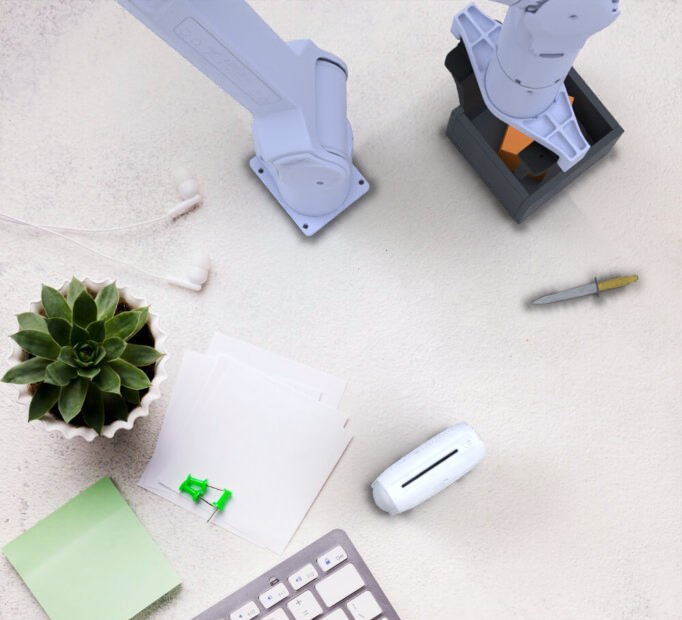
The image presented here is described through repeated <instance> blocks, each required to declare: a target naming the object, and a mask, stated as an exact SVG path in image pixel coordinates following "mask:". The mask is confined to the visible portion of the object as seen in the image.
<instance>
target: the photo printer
mask: <svg viewBox="0 0 682 620" xmlns="http://www.w3.org/2000/svg"><path fill="white" fill-rule="evenodd" d="M485 457H487V448H486V446H485V443H484V441H483V439H482V437H481V436H480V434H479V433H478V432H477V430H476V429H474V427H472V425H470V424H469V423H468V422H466V421H461V422H458V423H455V424H453V425H451V426H449V427H447V428H446V429H444V430H443V431H441V432H439V433H437V434H436V435H434V436H433V437H431V438H429V439H427V440H426V441H425V442H423V443H422V444H420V445H419V446H417V447H416V448H414V449H413V450H411V451H410V452H409V453H407V454H406V455H404V456H402V457H401V458H399V459H398V460H396V462H394V463H393V464H391V465H390V466H389V467H387V468H385V470H384V471H383V472H382V473H380V474H379V475H378V477H377V478H376V479H375V480H374V481H373V482H372V483H371V484H370V487H371V489H372V498H373V501H374V503H375V505H376V507H378V508H379V509H380V510H382V511H383V512H387V513H388V514H389V516H394V515H397V514H401V513H404V512H407V511H409V510H411V509H413V508H415V507H417V506H419V505H420V504H422V503H424V502H425V501H427V500H428V499H430V498H432V497H433V496H435V495H437V494H438V493H439V492H441V491H443V490H444V489H446V488H447V487H448V486H450V485H453V484H454V483H455V482H456V481H458V480H459V479H460V478H462V477H463V476H465V475H466V474H468V473H469V472H470V471H472V470H473V469H474V468H475V467H476V466H477V465H478V464H480V462H482V461H483V459H484V458H485Z"/></svg>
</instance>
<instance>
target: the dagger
mask: <svg viewBox="0 0 682 620" xmlns="http://www.w3.org/2000/svg"><path fill="white" fill-rule="evenodd" d="M638 280H639V276H638V275H637V274H636V273H635V274H633V275H630V276H629V275H625V276H619V277H614V278H611V279H608V280H604V281H600V282H598V278H597V277H596V276H594V282H593V283H589V284H586V285H583V286H579V287H575V288H570V289H567V290H564V291H560V292H556V293H552V294H549V295H545V296H543V297H540V298H538V299H537V300H534V301H532V302H531V305H533V304H534V305H543V304H551V303H554V302H555V303H556V302H560V301H564V300H569V299H573V298H579V297H583V296H587V295H592V294H596V296H597V299H598V298H600V296H601V295H600V292H601V291H607V290H612V289H616V288H620V287H624V286H628V285H630V284H631V283H637V282H638Z"/></svg>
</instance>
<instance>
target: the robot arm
mask: <svg viewBox="0 0 682 620" xmlns="http://www.w3.org/2000/svg"><path fill="white" fill-rule="evenodd" d="M113 1H114V2H116V4H118V5H119V6H121V8H123V9H124V10H125V11H126V12H128V13H129V14H130V15H131V16H132V17H134V18H135V19H136V20H137V21H139V22H140V23H141V24H142V25H143V26H145V27H146V28H147V30H150V31H151V32H152V33H153V34H155V36H156V37H158V38H159V39H160V40H162V41H163V42H164V43H165V44H166V45H168V46H169V47H170V48H171V49H173V50H174V51H175V52H176V53H177V54H179V55H180V56H181V57H182V58H184V59H185V60H186V61H187V62H188V63H189V64H190V65H192V67H194V68H196V69H197V70H198V71H199V72H200V73H201V74H202V75H204V76H205V77H207V79H209V80H210V81H211V82H213V83H214V84H215V85H216V86H217V87H218V88H220V89H221V90H222V91H224V92H225V93H226V94H227V95H228V96H230V97H231V98H232V99H233V100H234V101H236V102H237V104H239V105H240V106H242V108H244V109H245V110H247V112H249V113H250V114H251V116H252V118H253V119H252V122H251V125H250V126H251V127H250V130H251V136H252V141H253V145H254V151H255V156H253V157H252V158H251V159H250V160H249V166H250V168H251V169H252V171H253V172H254V173H255V174H256V175H257V177H258V178H259V180H260V181H261V182H262V183H263V185H264V186H265V187H266V189H267V190H269V192H270V193H271V195H272V196H273V197H274V198H275V199H276V201H277V202H278V203H279V204H280V205H281V207H282V208H283V210H284V211H285V212H286V213H287V215H289V217H290V218H291V219H292V221H294V224H296V226H298V228H299V229H300V230H301V232H302V233H303V235H305V236H306V237H311V236H313V235H314V234H316V233H317V232H319V231H320V230H321V229H322V228H323V227H325V226H327V224H328V223H330V221H332V220H333V219H335V218H336V217H337V216H339V215H340V214H341V213H342V212H343V211H345V210H346V209H347V208H349V207H350V206H351V205H352V204H353V203H355V202H356V201H357V200H359V199H360V198H361V197H363V195H365V194H366V193H368V192H369V190H370V183H369V182H368V180H367V179H366V178H365V177H364V176H363V174H362V173H361V172H360V171H359V170H358V167H356V165H354V163H353V151H354V131H353V127H352V125H351V123H350V120H349V118H348V104H347V103H348V101H347V81H348V78H349V69H348V66H347V64H346V62H345V61H344V60H343V59H342V58H340V57H339V56H338V55H335V54H334V53H332V52H330V51H328V50H325V49H322V48H320V47H319V46H317V44H315V42H314V41H313V40H312V39H311V38H303V39H302V38H301V39H300V38H299V39H293V40H289V41H285V40H284V39H282V38H281V36H280V35H279V34H278V33H277V32H276V31H275V30H274V29H273V28H272V27H271V26H270V25H269V23H267V22H266V21H265V19H263V17H261V16H260V14H258V12H257V11H256V10H255V9H254V8H253V7H252V6H251V5H250V4H249V3H248V2H247V1H246V0H113ZM489 1H491V2H494V3H498V4H502V5H505V6H508V7H507V11H506V13H505V15H504V18H503V22H501V21H500V20H498V19H493V18H492V17H491V16H489V15H488V14H487V13H485V12H484V11H483V10H481V8H479V6H478V5H477V4H476V3H475V1H472V2H470V3H469V4H467V5H466V6H465V7H464V8H463V9H462V10H460V11H459V12H458V13H456V14H455V15H454V16H453V17H452V21H451V26H450V31H449V32H450V33H451V34H452V36H453V37H454V38H455V39H456V40H458V41H459V42H457V44H456V46H454V47H453V48H452V49H451V50H449V52H448V53H447V54H446V55H445V58H444V63H443V64H444V67H445V69H447V71H448V72H449V73H450V75H451V76H452V78H453V81H454V83H455V88H456V91H457V96H458V102H459V105H460V107H461V108H462V109H463V111H464V112H466V111H468V110H469V109H470V108H471V107H473V106H474V105H475V104H476V103H478V102H479V101H480V100H482V99H484V102H485V104H486V105H487V107H488V109H489V110H490V111H491V112H492V113H493V114H494V115H495V116H496V117H497V118H499V119H500V120H502V121H504V122H505V123H507V124H509V125H510V126H512V127H514V128H515V129H517V130H518V131H520V132H522V133H523V134H525V135H527V136H528V137H530V138H532V139H533V140H534V141H533V142H531V143H530V144H529V145H528V146H526V147H525V148H524V149H523V150H521V151H520V152H519V153H518V154H517V156H518V157H519V158H520V162H519V165H518V167H517V169H516V170H515V175H516V176H517V178H518V179H519V180H521V179H522V178H524V177H525V176H526V175H528V174H533V175H534V176H538V175H541V174H542V173H544V172H546V171H547V170H548V169H549V168H551V167H552V166H553V165H554V164H556V163H557V164H558V165H559V167H560V168H561V169H562V170H563V172H566V171H567V170H568V169H570V168H571V167H572V166H573V165H575V164H576V163H577V162H578V161H580V160H581V159H582V158H583V157H584V156H585V154H586V153H587V151H588V150H589V148H590V145H589V144H588V143H587V141H586V140H585V135H586V132H585V128H584V127H583V125H582V124H581V123H580V122H579V120H578V119H577V118H576V117H575V114H574V112H573V109H572V106H571V103H570V100H569V97H568V94H567V91H566V88H565V85H564V80H565V78H566V76H567V74H568V72H569V70H570V68H571V67H572V66H573V65H574V63H575V61H576V59H577V57H578V54H579V53H580V51H581V50H582V49H583V48H584V46H585V44H586V42H587V41H588V39H590V38H591V37H592V36H594V35H595V34H597V33H599V32H601V31H603V30H604V29H606V28H607V27H609V26H610V25H611V24H613V23H614V22H615V21H616V20H617V19H618V17H619V16H620V15H621V12H622V11H621V10H619V3H620V0H489ZM260 171H262V172H260ZM360 182H363V183H362V184H360ZM304 226H307V228H304Z"/></svg>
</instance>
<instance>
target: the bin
mask: <svg viewBox="0 0 682 620" xmlns="http://www.w3.org/2000/svg"><path fill="white" fill-rule="evenodd" d="M564 85H565V88H566V91H567V94H568V96H571V97H574V100H573V103H572V109H573V112H574V114H575V117H576V118H577V119H578V120H579V122H580V123H581V124H582V125H583V127H584V128H585V132H586V135H585V140H586V141H587V143H588V144H589V145H590V148H589V150H588V151H587V153H586V154H585V156H584V157H583V158H582V159H581V160H580V161H578V162H577V163H576V164H575V165H573V166H572V167H571V168H570V169H568V170H567V171H566V172H563V170H562V169H561V168H560V167H559V165H558V164H557V163H556V164H554V165H553V166H552V167H551V168H550V169H549V170H548V172H547V173H546V175H545V177H544V178H543V180H542V181H539V180H537V179H534V178H531V177H528V176H525V177H524V178H522V179H521V180H519V179H518V178H517V176H516V175H515V172H514V171H511V170H509V169H508V167H507V166H506V165H505V164H504V162H503V161H502V160H501V159H500V157H499V156H498V155H497V154H498V151H499V149H500V146H501V143H502V140H503V137H504V134H505V131H506V128H507V125H508V124H507V123H505V122H504V121H502V120H500V119H499V118H497V117H496V116H495V115H494V114H493V113H492V112H491V111H490V110H489V109H488V107H487V105H486V104H485V102H484V99H482V100H480V101H479V102H478V103H476V104H475V105H474V106H473V107H471V108H470V109H469V110H468V111H466V112H464V111H463V109H462V108H461V107H460V104H459V105H457V106H456V107H455V108H453V109H452V110H451V112H450V116H449V119H448V123H447V127H446V130H445V135H446V136H447V138H449V140H450V141H451V142H452V144H453V145H454V146H455V148H456V149H457V150H458V151H459V152H460V154H461V155H462V156H463V158H464V159H465V160H466V161H467V162H468V164H469V165H470V166H471V167H472V169H473V170H474V171H475V172H476V173H477V175H478V176H479V177H480V179H481V180H482V181H483V183H485V185H486V186H487V187H488V188H489V190H490V191H491V192H492V193H493V195H494V196H495V197H496V198H497V200H498V201H499V202H500V203H501V204H502V206H503V207H504V208H505V210H506V211H508V213H509V215H510V216H511V217H512V218H513V219H514V221H515V222H516V223H517V224H518V225H520V224H521V223H522V222H524V221H525V220H526V219H527V218H529V217H530V216H531V215H532V214H533V213H535V212H536V211H537V210H539V209H540V208H541V207H542V206H543V205H545V204H547V202H549V201H550V200H551V199H553V198H554V197H555V196H556V195H557V194H559V193H561V191H562V190H564V189H565V188H567V186H569V185H570V184H572V183H573V182H574V181H575V180H576V179H578V178H579V177H580V176H581V175H583V174H584V173H585V172H587V171H588V170H589V169H591V167H593V166H594V165H595V164H597V162H599V161H600V160H601V159H603V158H604V157H605V156H606V155H608V154H609V153H610V151H611V150H612V149H613V147H614V146H615V145H616V144H617V142H618V141H619V139H620V138H621V137H622V135H623V134H624V132H625V129H624V128H623V127H622V125H620V123H619V122H618V121H617V119H616V118H615V117H614V115H613V114H612V113H611V112H610V110H609V109H608V108H607V107H606V106H605V104H604V103H603V102H602V101H601V99H600V98H599V97H598V96H597V95H596V93H595V92H594V91H593V90H592V88H591V87H590V86H589V85H588V84H587V82H586V81H585V80H584V78H583V77H582V76H581V75H580V73H579V72H578V71H577V70H576V69H575V67H574V66H573V65H572V67H571V68H570V70H569V72H568V74H567V76H566V78H565V80H564Z"/></svg>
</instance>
